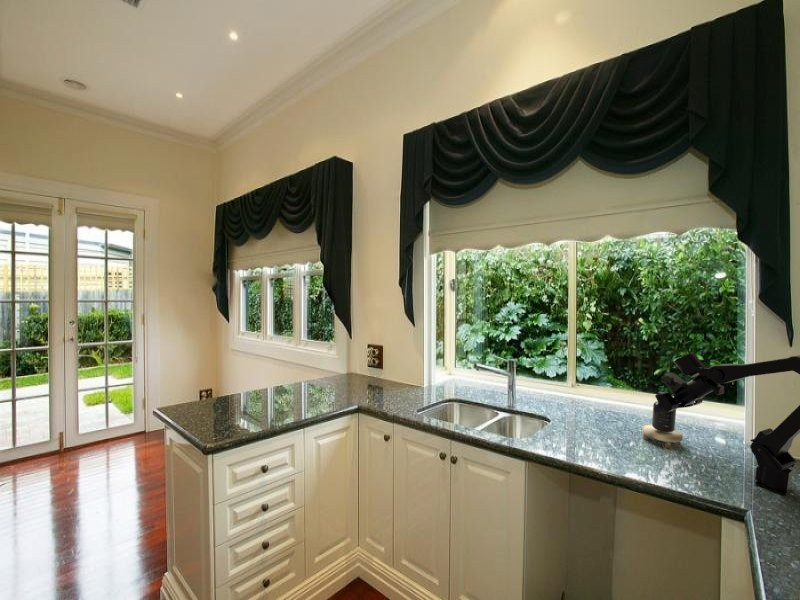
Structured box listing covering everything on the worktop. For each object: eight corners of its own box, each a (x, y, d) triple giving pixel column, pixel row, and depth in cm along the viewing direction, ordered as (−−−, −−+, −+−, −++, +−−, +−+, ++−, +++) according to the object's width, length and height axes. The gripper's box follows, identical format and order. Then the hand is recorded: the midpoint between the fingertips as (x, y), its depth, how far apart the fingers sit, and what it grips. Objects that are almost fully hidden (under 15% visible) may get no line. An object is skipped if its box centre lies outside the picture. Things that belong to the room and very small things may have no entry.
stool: (688, 443, 136) (688, 434, 136) (672, 451, 130) (673, 442, 130) (651, 431, 147) (652, 422, 146) (635, 438, 140) (636, 428, 140)
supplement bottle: (649, 423, 142) (652, 392, 141) (671, 426, 140) (674, 394, 139) (654, 430, 136) (656, 397, 135) (677, 434, 133) (679, 400, 132)
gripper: (695, 365, 136) (661, 386, 147) (663, 370, 128) (629, 392, 139) (719, 393, 130) (681, 413, 140) (687, 400, 122) (649, 421, 133)
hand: (660, 409), depth 138 cm, fingers closed on supplement bottle, 7 cm apart
